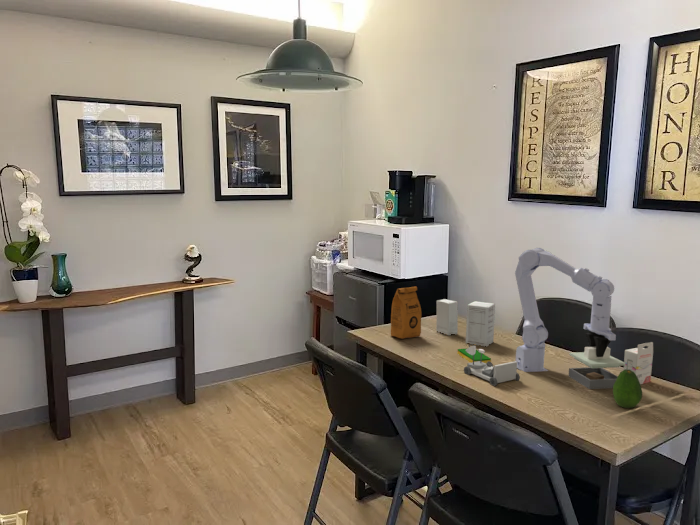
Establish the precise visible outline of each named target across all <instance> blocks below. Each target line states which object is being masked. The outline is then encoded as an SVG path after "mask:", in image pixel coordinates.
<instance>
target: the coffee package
mask: <svg viewBox="0 0 700 525" xmlns="http://www.w3.org/2000/svg"><path fill="white" fill-rule="evenodd" d="M416 291H418V287H417V286H411V287H401V288H397V289H396V291H395V293H394V297H393V298H392V303H391V313H390V336H391V337H395V338H397V339H409V338H411V339H412V338H417V337H420V336H421V334H422V314H423V313H422V308H421V304H420V301H419V298H418V295H417V292H416Z"/></svg>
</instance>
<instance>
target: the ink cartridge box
mask: <svg viewBox="0 0 700 525" xmlns="http://www.w3.org/2000/svg"><path fill="white" fill-rule="evenodd" d="M645 347H646V348H645ZM653 356H654V342H653V341H650V342H645V343H641V344H640V343H639V344H637V347H635V348H629V349H625V350H624V357H623V358H624V359H623V360H624V361H623V362H624V363H625V365H623V370H625V369H628V370H631V371H633V372H634V373H635V374H636V376H637V378H638V380H639V382H640V385H643V384H647V383H651V379H652V369H653V368H652V367H653V358H654V357H653ZM623 370H622V371H623Z"/></svg>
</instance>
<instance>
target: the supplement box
mask: <svg viewBox="0 0 700 525" xmlns="http://www.w3.org/2000/svg"><path fill="white" fill-rule="evenodd" d="M495 311H496V303H493V302H492V303H491V302H486V301H485V302H483V301H476V300H475V301H473V302H470V303H469V304H467V307H466V325H465V326H466V328H465V330H466V331H465V344H467V343H470V344H469V345H473V344H476V345H475V346H479V345H481V346H480V347H485V346H486V348H487V347H488V346H490V345H491V344H492V343H494V335H495V318H496V317H495V313H496V312H495ZM489 344H490V345H489Z"/></svg>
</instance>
